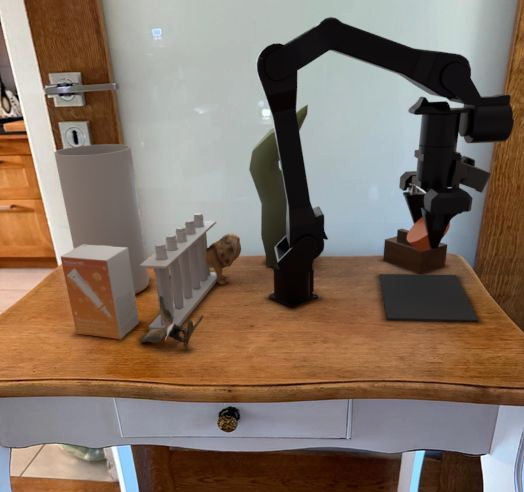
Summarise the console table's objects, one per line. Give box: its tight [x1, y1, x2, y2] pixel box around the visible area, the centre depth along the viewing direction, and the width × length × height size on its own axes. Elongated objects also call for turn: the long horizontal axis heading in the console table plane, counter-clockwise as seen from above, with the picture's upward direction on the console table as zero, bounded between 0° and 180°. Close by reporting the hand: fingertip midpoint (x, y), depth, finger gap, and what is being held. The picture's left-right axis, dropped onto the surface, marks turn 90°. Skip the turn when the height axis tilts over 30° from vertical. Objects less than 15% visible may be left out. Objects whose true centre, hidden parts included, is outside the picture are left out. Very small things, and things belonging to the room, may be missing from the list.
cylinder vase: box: [53, 143, 150, 295], centre depth 99 cm, size 12×12×25 cm
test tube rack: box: [140, 212, 218, 332], centre depth 95 cm, size 25×4×13 cm, turn 167°
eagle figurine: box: [140, 296, 204, 351], centre depth 83 cm, size 8×7×9 cm
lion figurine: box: [170, 233, 242, 285], centre depth 105 cm, size 15×5×9 cm, turn 92°
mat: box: [379, 273, 479, 323], centre depth 96 cm, size 20×14×1 cm
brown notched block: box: [382, 228, 448, 275], centre depth 110 cm, size 7×10×7 cm
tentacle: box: [248, 104, 309, 268], centre depth 107 cm, size 9×12×30 cm
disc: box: [407, 217, 451, 251], centre depth 93 cm, size 2×7×7 cm
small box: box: [60, 244, 140, 340], centre depth 86 cm, size 8×6×13 cm
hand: (427, 241), depth 94 cm, fingers closed on disc, 7 cm apart
